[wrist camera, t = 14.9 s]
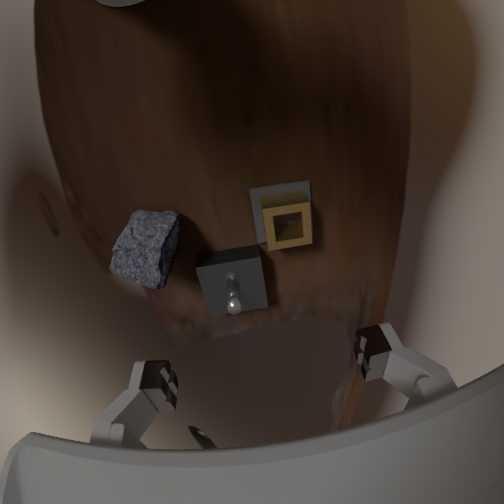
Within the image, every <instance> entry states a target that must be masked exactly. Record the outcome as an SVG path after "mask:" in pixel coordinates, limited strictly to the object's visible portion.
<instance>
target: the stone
mask: <svg viewBox="0 0 504 504" xmlns="http://www.w3.org/2000/svg"><path fill="white" fill-rule="evenodd" d="M181 219H182V214H181V215H180V214H179V213H177V212H174V211H165V212H154V211H147V210H136V211H135V212H134V213H133V214H132V216H131V219H130V221H129V224H128V225H127V226H126V228H125V229H124V231H123V232H122V234H121V235H120V237H119V238H118V240H117V242H116V244H115V246H114V248H113V258H112V262H111V265H110V270H111V271H112V272H114V273H115V274H117V275H120V276H121V277H123V278H125V279H128V280H131V281H134V282H137V283H139V284H141V285H143V286H145V287H150V288H154V289H161V288H163V287H165V286H166V285H165V284H167V283H166V282H167V281H166V280H167V278H168V276H169V274H170V271H171V268H172V266H173V262H174V259H175V257H176V252H177V246H178V239H179V233H180V226H181Z"/></svg>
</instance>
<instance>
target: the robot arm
mask: <svg viewBox="0 0 504 504" xmlns="http://www.w3.org/2000/svg"><path fill="white" fill-rule="evenodd" d="M96 1H98V2H99V3H101V4H103V5H107V6H112V7H122V6H128V5H133V4H136V3H139V2H142V1H144V0H96ZM355 337H356V339H357V340H356V341H355V342H354V354H355V358H356V361H357V363H359V364H360V365H361V369H360V371H361V373H362V376H363V378H364V381H365V382H366V381H370V380H374V379H377V378H381V377H383V379H385V380H386V381H387V382H388V383H390V384H391V385H392V386H394V387H395V388H396V389H397V390H399V391H400V392H401V393H403V394H404V395H405V396H406V397H408V398H409V401H408V403H407V405H406V407H405V409H404V411H401V412H398V413H395V414H392V415H390V416H386V417H383V418H380V419H377V420H374V421H370V422H367V423H364V424H360V425H356V426H353V427H349V428H345V429H341V430H337V431H333V432H329V433H325V434H320V435H315V436H310V437H305V438H300V439H294V440H288V441H282V442H275V443H268V444H260V445H252V446H242V447H232V448H216V449H184V450H174V449H148V448H147V447H146V446H145V445H144V444H143V443H142V442H140V441H139V439H140V438H141V436H142V435H143V434H144V432H145V431H146V429H147V428H148V427H149V425H150V424H151V422H152V421H153V419H154V418H155V417H156V415H157V414H158V411H175V410H176V403H177V398H176V396H175V393H176V392H177V391H178V378H177V375H176V373H175V371H174V370H172V369H171V364H170V362H169V360H154V361H153V360H152V361H136V363H135V364H134V367H133V371H132V375H131V379H130V383H129V388H128V390H125V391H124V392H123V393H122V394H121V395H120V396H119V397H118V398H117V399H116V400H115V401H114V402H113V403H112V404H111V405H110V406H109V407H108V408H107V409H106V410H105V411H104V412H103V413H102V414H101V415H100V416H99V417H98V418H97V419H96V420H95V423H94V427H93V431H92V435H91V439H90V443H85V442H80V441H74V440H68V439H63V438H58V437H53V436H49V435H45V434H41V433H36V432H31V433H29V434H28V435H26V436H25V437H23V438H22V439H21V440H20V441H19V442H18V443H16V444H15V445H14V446H13V447H12V449H11V450H10V451H9V453H8V455H7V458H6V460H5V463H4V466H3V469H2V472H1V476H0V504H504V364H502V365H501V366H499V367H497V368H495V369H494V370H492V371H490V372H488V373H487V374H485V375H483V376H481V377H479V378H477V379H475V380H473V381H471V382H469V383H467V384H465V385H463V386H461V387H459V388H457V386H456V384H455V383H454V381H453V379H452V377H451V375H450V374H449V372H448V370H447V369H446V368H445V367H444V366H442V365H440V364H438V363H436V362H434V361H433V360H431V359H429V358H427V357H425V356H423V355H422V354H420V353H418V352H416V351H414V350H412V349H410V348H408V347H404V346H403V345H402V343H401V341H400V339H399V338H398V336H397V334H396V332H395V331H394V329H393V327H392V326H391V324H390V323H389V322H385V323H381V324H378V325H373V326H369V327H365V328H362V329H358V330H356V333H355Z"/></svg>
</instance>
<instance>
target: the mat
mask: <svg viewBox="0 0 504 504" xmlns="http://www.w3.org/2000/svg"><path fill="white" fill-rule="evenodd" d="M300 190H301V191H302V192H303V193H304V195H305V196H306V198H307V199H308V200H309V202H310V214H311V229H312V234H313V222H312V207H311V194H310V182H309V180H303V181H296V182H289V183H282V184H275V185H269V186H262V187H256V188H250V189H249V191H250V197H251V204H252V210H253V216H254V222H255V228H256V234H257V241H258V243H264V242H266V238H265V234H264V227H263V220H262V213H261V207H260V200H259V197H261V196H267V195H274V194H280V193H287V192H294V191H300ZM273 223H274V226H280V225H286V224H292V223H297V222H296V212H295V213H289V214H282V215H276V216H273Z"/></svg>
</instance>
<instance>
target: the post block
mask: <svg viewBox="0 0 504 504" xmlns="http://www.w3.org/2000/svg"><path fill="white" fill-rule="evenodd" d="M195 268H196V272H197V275H198V279H199V282H200V285H201V288H202V292H203V295H204V298H205V301H206V304H207V308H208V311H209V314H210V316H215V315H222V314H229V313H230V314H238V313H240V312H242V311H248V310H255V309H261V308H267V307H268V302H267V295H266V289H265V282H264V276H263V270H262V263H261V257H260V252H259V246H258V244H257V245H251V246H245V247H239V248H233V249H228V250H222V251H216V252H210V253H204V254H198V255H197V261H196V267H195Z"/></svg>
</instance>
